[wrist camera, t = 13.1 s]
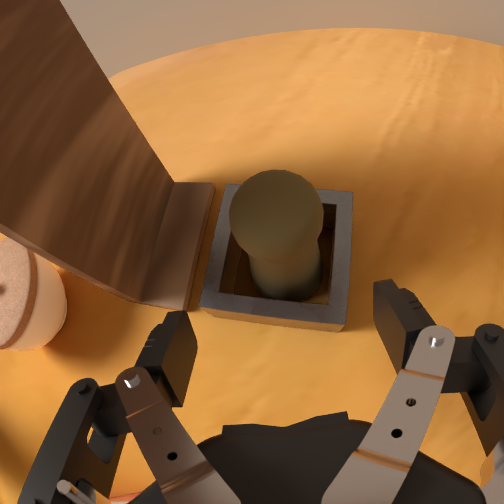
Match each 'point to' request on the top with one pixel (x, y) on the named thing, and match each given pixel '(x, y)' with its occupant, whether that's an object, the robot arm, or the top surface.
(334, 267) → the socket
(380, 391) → the top surface
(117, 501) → the cracker box
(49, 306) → the lidded jar
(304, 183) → the cork
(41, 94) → the shelf
